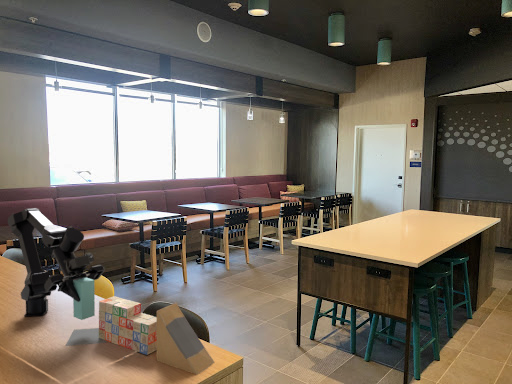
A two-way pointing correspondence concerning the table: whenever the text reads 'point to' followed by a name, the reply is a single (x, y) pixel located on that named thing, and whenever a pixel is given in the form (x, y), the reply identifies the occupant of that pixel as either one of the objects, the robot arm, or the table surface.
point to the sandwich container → (179, 342)
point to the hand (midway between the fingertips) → (86, 299)
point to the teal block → (84, 298)
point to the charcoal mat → (85, 337)
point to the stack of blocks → (127, 325)
